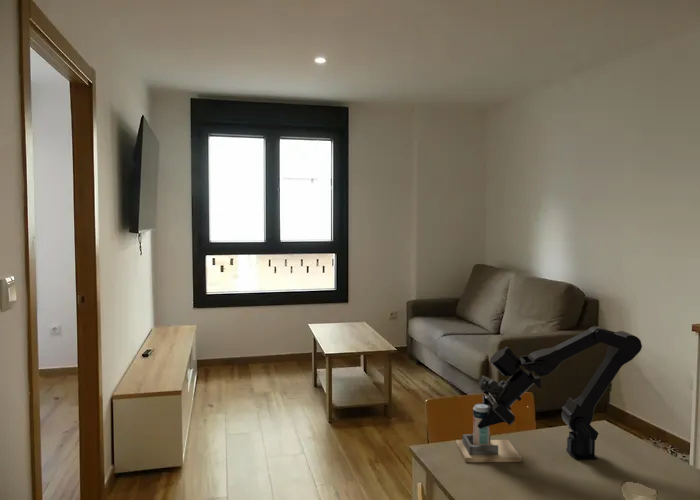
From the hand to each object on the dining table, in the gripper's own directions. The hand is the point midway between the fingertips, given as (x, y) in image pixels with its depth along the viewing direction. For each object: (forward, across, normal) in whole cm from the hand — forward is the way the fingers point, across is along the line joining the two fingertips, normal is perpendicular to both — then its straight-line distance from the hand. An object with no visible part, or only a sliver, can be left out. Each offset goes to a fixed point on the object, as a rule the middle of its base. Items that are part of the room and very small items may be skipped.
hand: (476, 423), depth 151 cm
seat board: (+4, 0, +8) cm, 9 cm away
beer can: (+4, 0, +6) cm, 7 cm away
